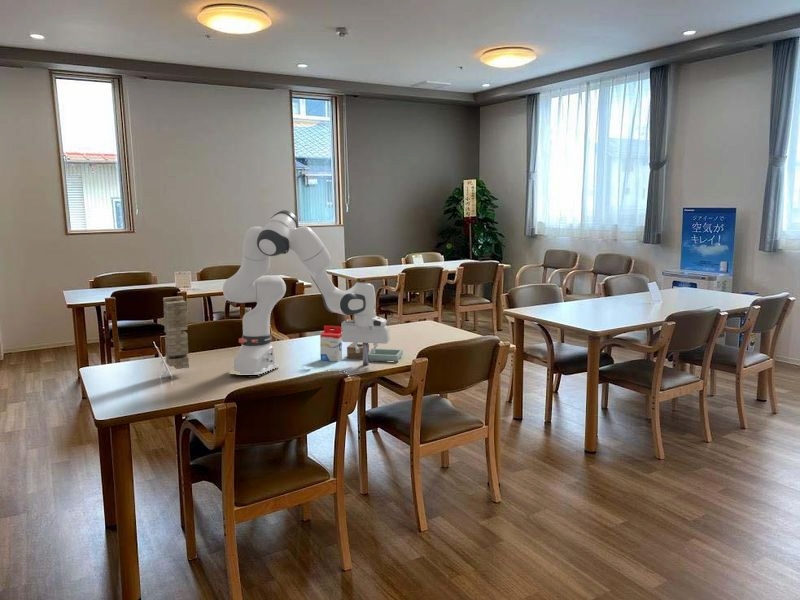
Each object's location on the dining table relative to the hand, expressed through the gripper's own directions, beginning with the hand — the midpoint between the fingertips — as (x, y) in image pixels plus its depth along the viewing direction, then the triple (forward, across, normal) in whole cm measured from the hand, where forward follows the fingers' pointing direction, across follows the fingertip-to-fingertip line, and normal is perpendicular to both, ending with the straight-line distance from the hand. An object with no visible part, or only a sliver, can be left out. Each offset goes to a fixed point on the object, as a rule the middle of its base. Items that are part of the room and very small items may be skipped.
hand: (365, 353), depth 254 cm
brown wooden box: (+5, -7, +14) cm, 17 cm away
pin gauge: (+5, 0, 0) cm, 5 cm away
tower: (+5, -76, -18) cm, 78 cm away
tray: (+5, +6, +12) cm, 14 cm away
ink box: (+5, -17, +6) cm, 19 cm away
